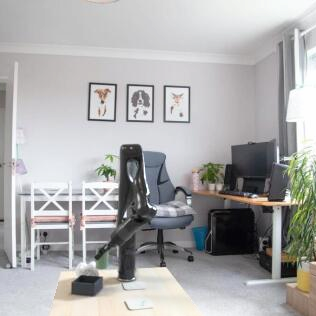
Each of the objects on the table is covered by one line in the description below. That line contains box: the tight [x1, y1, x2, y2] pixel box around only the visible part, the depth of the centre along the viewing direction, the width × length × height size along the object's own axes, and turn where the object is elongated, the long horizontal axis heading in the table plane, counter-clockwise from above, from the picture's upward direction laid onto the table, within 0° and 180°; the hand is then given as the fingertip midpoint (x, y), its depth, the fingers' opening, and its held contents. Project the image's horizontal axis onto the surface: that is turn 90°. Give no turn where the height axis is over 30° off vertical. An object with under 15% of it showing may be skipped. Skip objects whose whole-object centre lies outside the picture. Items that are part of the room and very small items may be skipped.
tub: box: [70, 275, 104, 297], centre depth 169 cm, size 12×12×6 cm
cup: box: [95, 246, 110, 270], centre depth 164 cm, size 6×6×9 cm
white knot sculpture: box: [75, 260, 100, 278], centre depth 186 cm, size 11×12×9 cm
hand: (99, 256), depth 165 cm, fingers closed on cup, 6 cm apart
